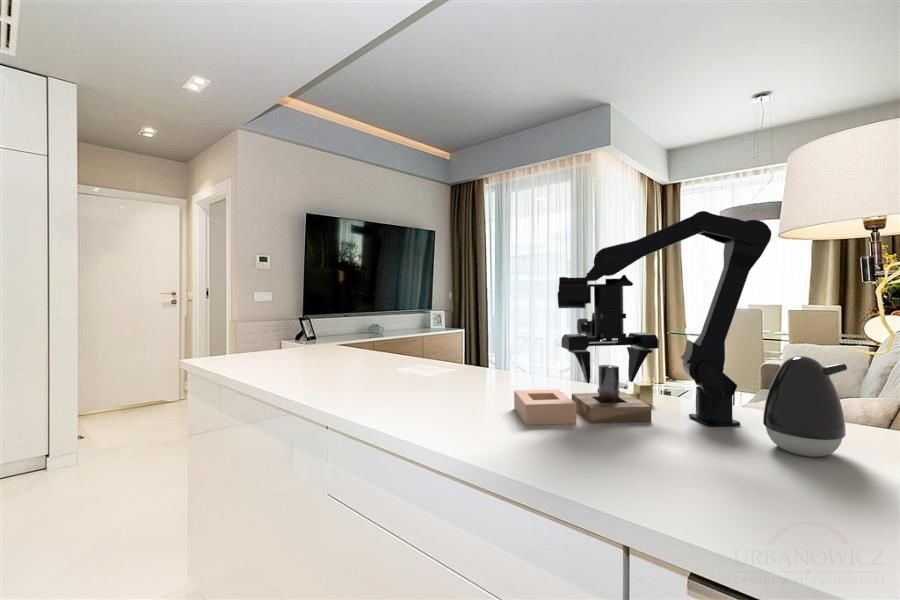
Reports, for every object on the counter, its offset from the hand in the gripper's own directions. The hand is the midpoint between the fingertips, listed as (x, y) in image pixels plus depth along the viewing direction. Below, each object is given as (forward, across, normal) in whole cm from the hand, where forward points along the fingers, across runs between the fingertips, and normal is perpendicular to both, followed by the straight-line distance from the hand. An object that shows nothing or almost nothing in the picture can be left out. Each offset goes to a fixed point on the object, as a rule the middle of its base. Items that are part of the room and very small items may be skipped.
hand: (609, 382), depth 91 cm
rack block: (+7, +14, 0) cm, 16 cm away
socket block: (+7, 0, -1) cm, 7 cm away
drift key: (+6, -7, -7) cm, 12 cm away
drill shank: (+7, 0, 0) cm, 7 cm away
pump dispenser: (+7, -22, +23) cm, 32 cm away
